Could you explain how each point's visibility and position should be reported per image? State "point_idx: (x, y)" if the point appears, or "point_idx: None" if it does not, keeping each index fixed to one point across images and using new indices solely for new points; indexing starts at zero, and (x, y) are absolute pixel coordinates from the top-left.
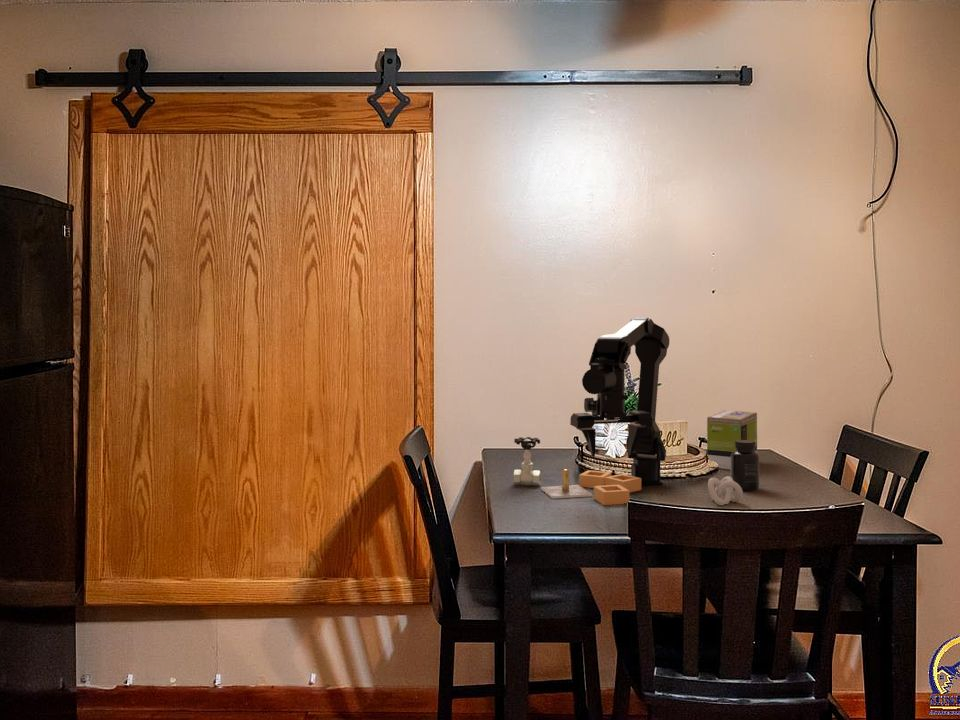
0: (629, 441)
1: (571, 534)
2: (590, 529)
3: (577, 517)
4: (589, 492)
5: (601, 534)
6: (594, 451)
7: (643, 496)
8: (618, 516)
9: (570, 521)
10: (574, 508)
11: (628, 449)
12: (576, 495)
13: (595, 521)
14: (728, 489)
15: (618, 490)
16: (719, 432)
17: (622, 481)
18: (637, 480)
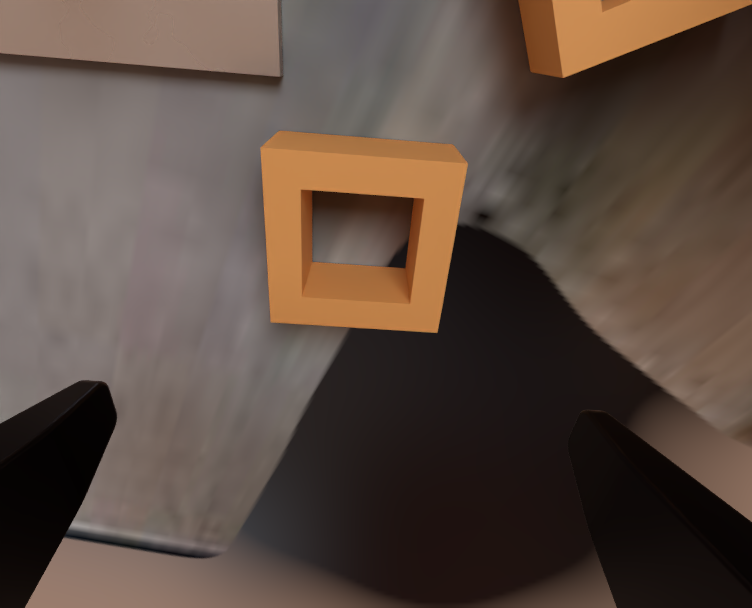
0: (692, 584)
1: (73, 538)
2: (141, 519)
3: None
4: (277, 16)
5: (166, 553)
6: (70, 499)
7: (602, 179)
8: (285, 439)
9: None
10: (118, 296)
11: (607, 462)
12: (161, 64)
13: (177, 465)
14: None
15: (377, 311)
16: None
17: (560, 63)
18: (743, 5)
